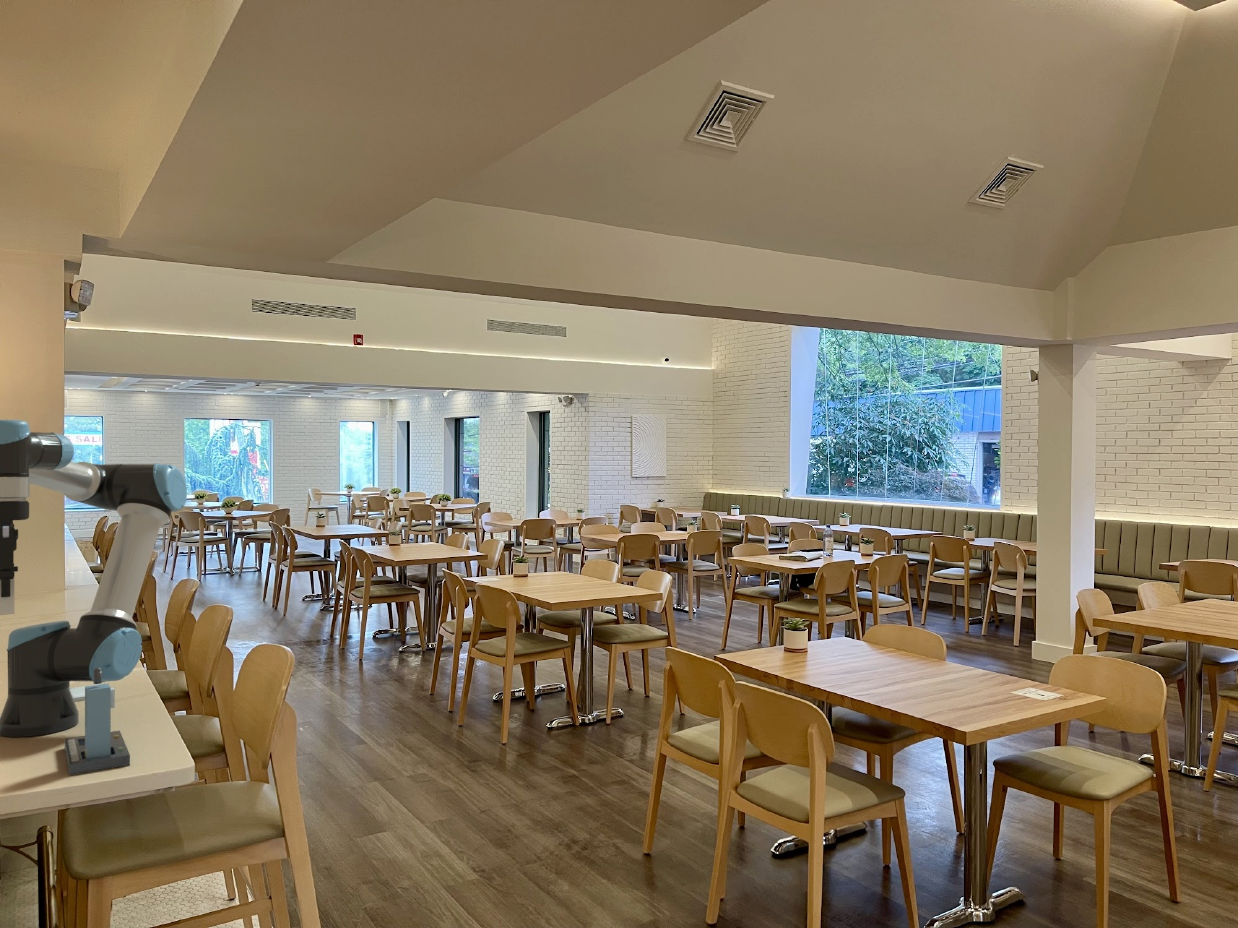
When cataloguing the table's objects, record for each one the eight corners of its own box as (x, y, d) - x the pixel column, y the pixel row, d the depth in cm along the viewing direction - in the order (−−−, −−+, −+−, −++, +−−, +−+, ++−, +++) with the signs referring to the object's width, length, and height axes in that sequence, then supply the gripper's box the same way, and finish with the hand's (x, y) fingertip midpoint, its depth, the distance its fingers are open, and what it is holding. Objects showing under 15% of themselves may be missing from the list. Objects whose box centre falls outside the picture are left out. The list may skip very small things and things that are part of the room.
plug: (84, 762, 175) (84, 667, 175) (112, 757, 178) (112, 663, 178) (86, 767, 172) (86, 670, 172) (115, 763, 175) (115, 667, 175)
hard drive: (63, 688, 231) (72, 697, 222) (99, 683, 236) (109, 692, 227) (63, 695, 231) (72, 704, 222) (99, 689, 236) (109, 698, 227)
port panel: (64, 748, 184) (64, 737, 184) (119, 739, 190) (119, 728, 190) (69, 775, 168) (69, 762, 168) (129, 765, 173) (129, 753, 173)
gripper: (-17, 498, 180) (-17, 603, 180) (-20, 501, 159) (-21, 620, 159) (28, 497, 184) (28, 600, 184) (30, 501, 163) (30, 616, 163)
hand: (5, 609), depth 171 cm, fingers open, 13 cm apart
